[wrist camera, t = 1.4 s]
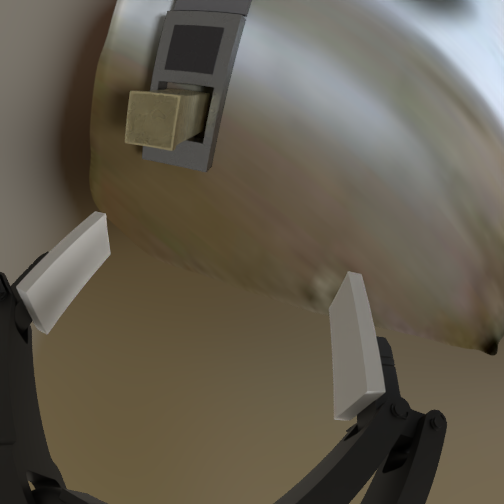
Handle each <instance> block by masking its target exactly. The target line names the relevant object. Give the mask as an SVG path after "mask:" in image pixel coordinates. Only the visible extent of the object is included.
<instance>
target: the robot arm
mask: <svg viewBox="0 0 504 504" xmlns="http://www.w3.org/2000/svg"><path fill="white" fill-rule="evenodd" d="M109 255H110V247H109V239H108V231H107V222H106V214H105V213H100V212H96V211H95V212H94V213H93V214H92V215H90V216H89V217H88V218H87V219H86V220H85V221H83V222H82V223H81V224H80V225H79V226H77V227H76V228H75V229H74V230H73V231H72V232H71V233H69V234H68V235H67V236H66V237H65V238H64V239H63V240H62V241H61V242H60V243H58V244H57V245H56V246H55V248H53V249H52V250H51V251H50V252H46V253H45V254H43V255H41V256H40V257H38V258H37V259H36V260H35V261H34V263H33V264H31V265H30V266H29V268H28V269H27V270H26V271H25V272H24V273H23V274H22V275H21V276H20V277H19V278H18V279H17V280H16V281H15V282H14V283H13V284H12V285H11V286H10V285H9V282H8V280H7V278H6V276H5V274H4V273H2V272H0V504H107V503H105V502H103V501H101V500H99V499H97V498H95V497H93V496H91V495H89V494H87V493H82V492H77V491H72V490H68V489H67V488H66V486H65V483H64V481H63V478H62V475H61V473H60V471H59V469H58V467H57V466H56V465H55V463H54V462H53V461H52V459H51V456H50V453H49V450H48V446H47V442H46V438H45V434H44V430H43V426H42V421H41V416H40V411H39V406H38V399H37V393H36V385H35V377H34V367H33V354H32V330H31V326H30V323H31V322H32V321H33V322H34V324H35V326H36V327H37V329H38V330H40V331H42V332H43V333H45V334H48V333H49V331H50V330H51V329H52V327H53V326H54V324H55V323H56V322H57V320H58V319H59V317H60V316H61V315H62V313H63V312H64V311H65V309H66V308H67V307H68V305H69V304H70V303H71V301H72V300H73V299H74V298H75V296H76V295H77V294H78V292H79V291H80V290H81V289H82V287H83V286H84V285H85V284H86V282H87V281H88V280H89V279H90V277H91V276H92V275H93V274H94V273H95V271H96V270H97V269H98V268H99V267H100V266H101V264H102V263H103V262H104V261H105V260H106V259H107V257H108V256H109ZM329 315H330V326H331V342H332V359H333V382H334V383H333V385H334V420H351V419H353V418H354V417H355V416H356V415H357V423H356V424H355V425H353V426H352V427H350V428H349V429H348V430H346V431H347V432H348V433H347V434H346V435H345V437H344V438H343V439H342V440H341V441H340V442H339V443H338V444H337V445H336V446H335V447H334V449H333V450H332V451H331V452H330V453H329V454H328V455H327V456H326V457H325V458H324V459H323V460H322V461H321V462H320V463H319V464H318V465H317V466H316V467H315V468H314V469H313V470H312V471H311V472H310V473H309V474H308V475H306V476H305V477H304V478H303V479H302V480H301V481H300V482H299V483H298V484H297V485H295V486H294V487H293V488H292V489H291V490H290V491H288V492H287V493H286V494H285V495H284V496H282V497H281V498H280V499H279V500H277V501H276V502H275V503H274V504H349V503H350V501H351V500H352V499H353V498H354V497H355V496H356V495H357V493H358V492H359V491H360V490H361V489H362V488H363V486H364V485H365V484H366V483H367V481H368V480H369V479H370V478H371V476H372V475H373V474H374V472H375V471H376V470H377V471H376V474H375V476H374V478H373V480H372V482H371V484H370V486H369V488H368V490H367V492H366V494H365V496H364V498H363V500H362V502H361V504H425V503H426V500H427V497H428V494H429V492H430V489H431V486H432V483H433V480H434V477H435V473H436V470H437V467H438V463H439V459H440V455H441V451H442V447H443V443H444V438H445V433H446V428H447V422H446V418H445V416H444V415H443V414H442V413H441V412H440V411H439V410H431V411H429V412H428V413H427V414H422V413H420V412H417V411H414V410H412V409H411V408H410V406H409V404H408V402H407V401H406V400H405V399H403V398H402V397H401V396H400V391H399V385H398V380H397V374H396V369H395V367H394V365H395V364H394V360H393V354H392V350H391V346H390V345H389V343H388V341H387V340H386V338H384V337H377V336H376V333H375V329H374V324H373V319H372V315H371V310H370V306H369V302H368V298H367V294H366V290H365V286H364V282H363V278H362V274H358V273H354V272H349V271H348V273H347V275H346V277H345V279H344V281H343V283H342V285H341V287H340V289H339V291H338V293H337V294H336V296H335V298H334V300H333V302H332V304H331V306H330V308H329ZM377 468H378V469H377ZM28 481H30V482H32V484H33V485H34V487H35V490H33V491H31V489H30V486H29V483H28Z"/></svg>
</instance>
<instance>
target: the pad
mask: <svg viewBox="0 0 504 504" xmlns="http://www.w3.org/2000/svg"><path fill="white" fill-rule="evenodd" d="M251 1H252V0H176V4H175V7H174V11H207V12H221V13H231V14H240V15H243V16H247V14H248V11H249V7H250V4H251Z"/></svg>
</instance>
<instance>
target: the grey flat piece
mask: <svg viewBox="0 0 504 504" xmlns="http://www.w3.org/2000/svg"><path fill="white" fill-rule="evenodd" d="M245 21H246V19H245V18H244V17H243V15H240V14H231V13H221V12H207V11H167V15H166V18H165V22H164V26H163V30H162V34H161V38H160V42H159V47H158V51H157V56H156V61H155V66H154V71H153V76H152V82H151V88H150V91H152V90H163V89H166V87H167V82H177V83H186V84H194V85H201V86H208V87H214V91H213V95H212V100H211V105H210V110H209V115H208V120H207V125H206V130H205V135H204V139H203V138H198V137H191V138H189V139H187V140H185V141H183V142H181V143H180V144H178V145H176V149H175V150H173V151H170V150H164V149H159V148H153V147H147V146H143V153H142V159H146V160H151V161H156V162H161V163H166V164H171V165H175V166H180V167H185V168H189V169H194V170H198V171H202V172H207V171H208V170H209V169H210V168H211V167H212V162H213V157H214V152H215V147H216V142H217V137H218V132H219V127H220V122H221V117H222V113H223V108H224V104H225V99H226V95H227V91H228V86H229V82H230V78H231V74H232V70H233V66H234V62H235V58H236V54H237V50H238V46H239V43H240V39H241V35H242V32H243V28H244V25H245Z"/></svg>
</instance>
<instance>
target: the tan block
mask: <svg viewBox="0 0 504 504" xmlns="http://www.w3.org/2000/svg"><path fill="white" fill-rule="evenodd" d="M209 98H210V93H203V92H197V91H189V90H181V89H163V90H152V91H135V90H134V91H130V96H129V104H128V112H127V122H126V133H125V143H129V144H135V145H141V146H147V147H153V148H159V149H164V150H170V151H173V150H175V149H176V145H178V144H180V143H181V142H183V141H185V140H187V139H189V138H191V137H192V136H194V135H196V134H198V133H200V132H202V131H203V129H204V123H205V118H206V113H207V108H208V103H209Z"/></svg>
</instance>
